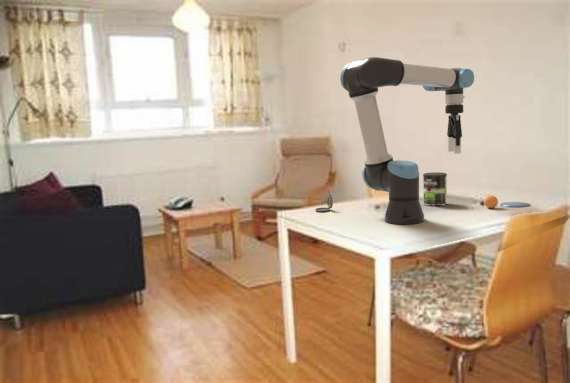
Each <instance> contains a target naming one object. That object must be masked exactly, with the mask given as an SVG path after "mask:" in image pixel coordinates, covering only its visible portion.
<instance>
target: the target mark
mask: <svg viewBox="0 0 570 383" xmlns="http://www.w3.org/2000/svg"><path fill="white" fill-rule="evenodd" d="M531 205H532V204H531V203H528V202H524V201H523V202H521V201H506V202H500V203H499V206H501V207H505V208H528V207H530V206H531Z"/></svg>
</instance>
